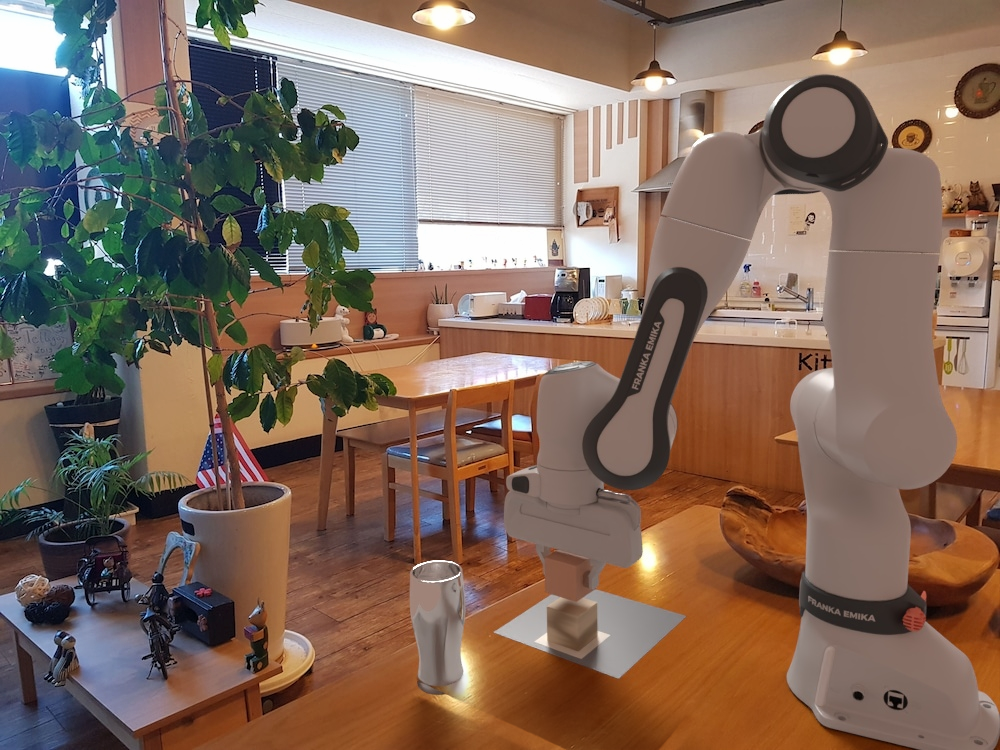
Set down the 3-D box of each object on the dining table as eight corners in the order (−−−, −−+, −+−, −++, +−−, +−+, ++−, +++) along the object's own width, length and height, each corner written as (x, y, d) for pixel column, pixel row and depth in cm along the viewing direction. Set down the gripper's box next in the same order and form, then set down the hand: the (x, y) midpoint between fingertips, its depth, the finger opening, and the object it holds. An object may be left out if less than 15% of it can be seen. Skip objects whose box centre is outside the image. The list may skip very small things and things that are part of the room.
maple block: (597, 636, 103) (597, 602, 103) (578, 651, 100) (577, 616, 99) (567, 625, 107) (566, 593, 106) (547, 640, 103) (546, 606, 102)
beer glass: (402, 689, 94) (397, 576, 92) (432, 662, 100) (428, 556, 98) (450, 703, 91) (445, 587, 89) (478, 674, 97) (474, 565, 95)
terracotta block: (595, 588, 102) (596, 554, 102) (576, 602, 99) (576, 566, 98) (565, 579, 106) (565, 545, 105) (545, 592, 102) (544, 557, 101)
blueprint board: (686, 623, 109) (686, 615, 109) (618, 687, 93) (618, 678, 93) (570, 588, 121) (570, 581, 121) (493, 640, 106) (493, 632, 105)
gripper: (652, 490, 96) (650, 592, 98) (523, 465, 108) (524, 556, 110) (628, 504, 91) (627, 610, 93) (496, 475, 103) (498, 570, 106)
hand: (570, 580), depth 102 cm, fingers closed on terracotta block, 5 cm apart
